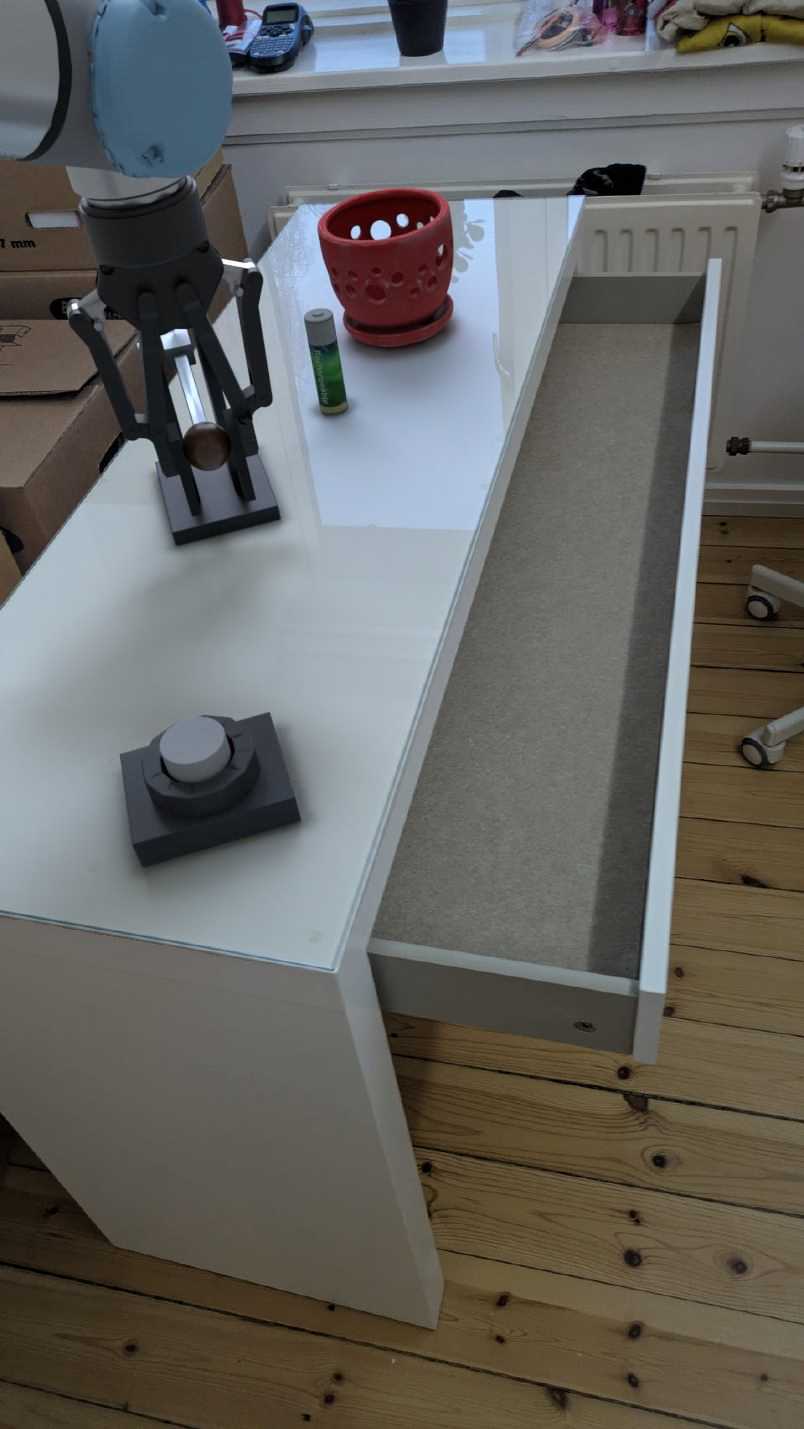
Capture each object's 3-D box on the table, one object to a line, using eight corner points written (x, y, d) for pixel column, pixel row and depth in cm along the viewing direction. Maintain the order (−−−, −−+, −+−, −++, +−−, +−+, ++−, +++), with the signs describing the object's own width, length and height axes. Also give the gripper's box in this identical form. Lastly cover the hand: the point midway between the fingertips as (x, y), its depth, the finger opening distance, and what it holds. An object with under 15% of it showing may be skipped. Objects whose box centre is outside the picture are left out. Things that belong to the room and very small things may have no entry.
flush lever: (238, 473, 83) (232, 445, 80) (192, 485, 83) (184, 457, 80) (198, 340, 88) (191, 308, 85) (154, 350, 87) (145, 319, 84)
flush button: (171, 791, 66) (163, 771, 64) (163, 746, 68) (155, 727, 67) (236, 772, 66) (229, 752, 65) (225, 729, 69) (218, 709, 68)
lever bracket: (281, 518, 92) (240, 340, 81) (176, 545, 90) (120, 368, 79) (255, 450, 100) (215, 279, 89) (158, 474, 99) (106, 304, 88)
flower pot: (351, 302, 120) (334, 188, 112) (469, 300, 117) (460, 183, 109) (321, 359, 111) (300, 240, 103) (447, 358, 108) (437, 236, 100)
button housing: (142, 867, 66) (123, 825, 64) (129, 776, 72) (111, 734, 69) (301, 820, 68) (289, 777, 65) (276, 734, 73) (264, 691, 70)
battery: (315, 407, 104) (297, 312, 98) (339, 397, 105) (323, 302, 99) (328, 418, 103) (312, 322, 96) (353, 408, 103) (338, 312, 97)
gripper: (253, 139, 72) (314, 448, 88) (0, 195, 70) (110, 501, 86) (276, 175, 67) (336, 496, 83) (3, 236, 65) (120, 554, 81)
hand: (221, 498), depth 85 cm, fingers closed on flush lever, 4 cm apart
